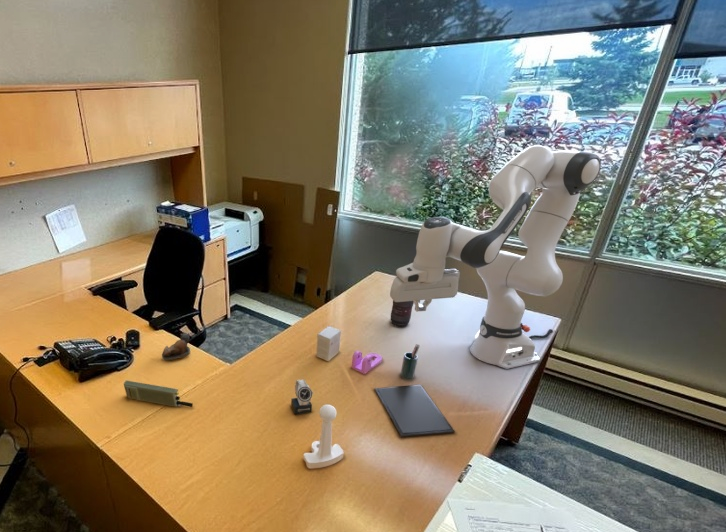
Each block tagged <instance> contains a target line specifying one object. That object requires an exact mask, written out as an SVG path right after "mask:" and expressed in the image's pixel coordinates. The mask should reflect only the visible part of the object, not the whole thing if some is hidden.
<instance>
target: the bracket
mask: <svg viewBox="0 0 726 532" xmlns="http://www.w3.org/2000/svg"><path fill="white" fill-rule="evenodd" d="M382 361H383V357H382V355H380V354H379V353H376V352H370V353H367V354H366V355H364V356H363V353H362V351H360V350H355V351H354V353H353V354H352V359H351V368H352V369H353V370H355V371H358V372H359V373H361V374H363V375H365V374H367V373H368V372H369V371H371V370H372V369H374V368H375V367H377V366H378V365H380V363H382Z"/></svg>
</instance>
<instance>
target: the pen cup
mask: <svg viewBox="0 0 726 532" xmlns="http://www.w3.org/2000/svg"><path fill="white" fill-rule="evenodd" d="M412 352H413V351H407V352H404V354H403V359H402V364H401V369H400V376H401V378H403V379H406V380H412V379H414V378H415V374H416V369H417V364H418V359H419V355H418V353H417V354H416V356H415V359H410V357H411V354H412Z"/></svg>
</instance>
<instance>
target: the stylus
mask: <svg viewBox="0 0 726 532" xmlns="http://www.w3.org/2000/svg"><path fill="white" fill-rule="evenodd" d="M420 347H421V345H420V344H418V343H415V344H414V347H413V350H412V351H411V352H412V354H411V357H410V359H415V356H416V354H417V355H418V352H419V350H420Z"/></svg>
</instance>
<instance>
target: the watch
mask: <svg viewBox="0 0 726 532" xmlns="http://www.w3.org/2000/svg"><path fill="white" fill-rule="evenodd" d="M294 392H295V397H294V398H291V401H290V402H291V403H290V406H291V409H292V411H293V413H294V415H302V414H308V413H312V409H313V408H312V407H313V405H312V402H311V400H312V398H313V395H314V391H313V390H312V389H311V387H310V386H309V384H308V383H307V382H306V380H305V379H297V380H295V385H294Z"/></svg>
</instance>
